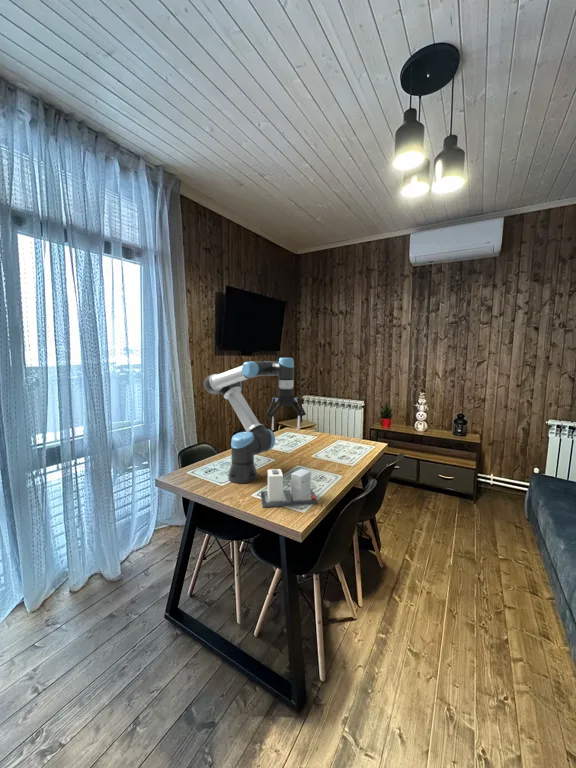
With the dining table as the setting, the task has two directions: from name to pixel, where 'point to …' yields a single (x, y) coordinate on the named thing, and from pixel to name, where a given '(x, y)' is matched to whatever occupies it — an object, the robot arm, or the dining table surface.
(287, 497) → the strip board
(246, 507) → the dining table surface
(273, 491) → the twin plug
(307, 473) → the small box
